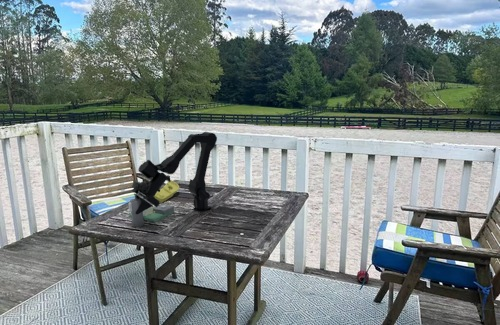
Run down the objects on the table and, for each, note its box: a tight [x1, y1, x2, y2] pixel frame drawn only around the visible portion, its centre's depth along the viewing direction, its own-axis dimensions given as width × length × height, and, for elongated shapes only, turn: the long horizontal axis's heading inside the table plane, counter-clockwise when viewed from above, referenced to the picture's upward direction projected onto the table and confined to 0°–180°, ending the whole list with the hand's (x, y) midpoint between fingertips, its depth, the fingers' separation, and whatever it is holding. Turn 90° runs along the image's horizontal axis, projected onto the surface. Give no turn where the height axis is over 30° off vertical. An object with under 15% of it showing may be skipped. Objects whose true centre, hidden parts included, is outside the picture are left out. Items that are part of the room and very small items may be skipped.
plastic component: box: [154, 179, 180, 204], centre depth 206 cm, size 20×7×10 cm
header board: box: [128, 203, 175, 223], centre depth 180 cm, size 16×14×4 cm
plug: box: [128, 197, 145, 228], centre depth 166 cm, size 6×5×12 cm
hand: (133, 212), depth 165 cm, fingers closed on plug, 5 cm apart
